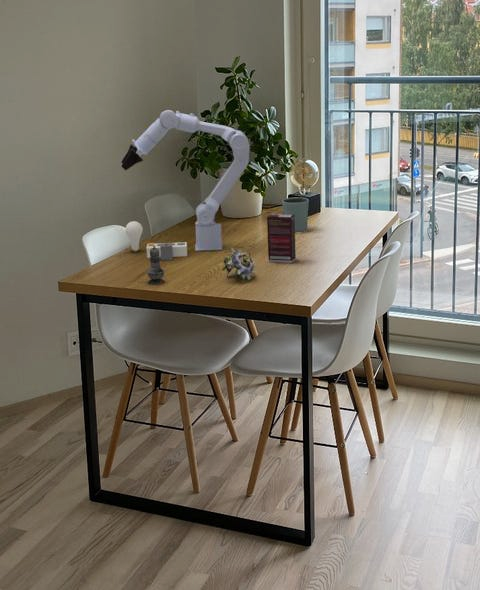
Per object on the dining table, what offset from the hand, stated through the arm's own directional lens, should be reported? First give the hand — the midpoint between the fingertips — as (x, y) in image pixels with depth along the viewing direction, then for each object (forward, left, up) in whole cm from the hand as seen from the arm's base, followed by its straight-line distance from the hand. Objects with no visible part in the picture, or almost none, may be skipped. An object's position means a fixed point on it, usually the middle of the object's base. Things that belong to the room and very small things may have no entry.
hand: (123, 166), depth 311 cm
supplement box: (-53, +21, -31) cm, 65 cm away
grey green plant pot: (-63, -22, -31) cm, 73 cm away
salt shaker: (-11, +39, -31) cm, 51 cm away
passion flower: (-37, +39, -31) cm, 62 cm away
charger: (-14, +11, -31) cm, 36 cm away
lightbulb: (-2, -1, -31) cm, 31 cm away
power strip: (-14, +6, -31) cm, 34 cm away
